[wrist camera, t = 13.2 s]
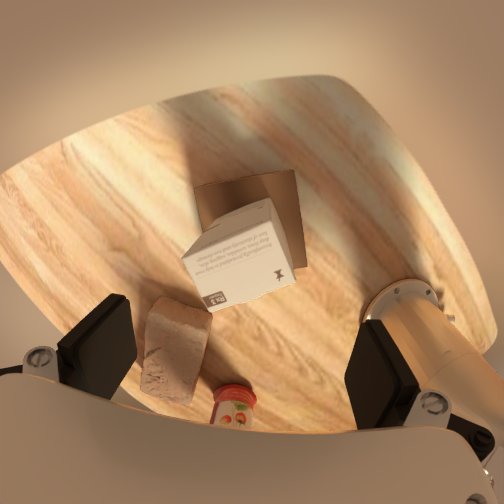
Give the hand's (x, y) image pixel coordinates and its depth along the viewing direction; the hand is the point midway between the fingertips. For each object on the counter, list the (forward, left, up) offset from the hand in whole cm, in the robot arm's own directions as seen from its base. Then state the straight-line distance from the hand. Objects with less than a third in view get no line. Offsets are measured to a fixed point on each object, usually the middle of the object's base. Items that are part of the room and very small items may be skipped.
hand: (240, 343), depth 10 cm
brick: (+11, +20, -24) cm, 33 cm away
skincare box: (+1, 0, -19) cm, 19 cm away
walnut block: (+1, 0, -24) cm, 24 cm away
